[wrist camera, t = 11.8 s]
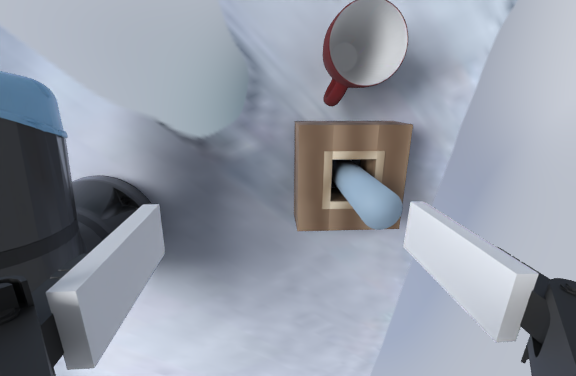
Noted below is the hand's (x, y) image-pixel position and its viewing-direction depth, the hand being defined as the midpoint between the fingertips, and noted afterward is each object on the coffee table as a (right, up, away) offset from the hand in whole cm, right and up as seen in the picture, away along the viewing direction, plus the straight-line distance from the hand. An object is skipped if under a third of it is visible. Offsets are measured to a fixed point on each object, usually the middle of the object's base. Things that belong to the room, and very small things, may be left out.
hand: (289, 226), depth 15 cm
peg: (+8, +5, +27) cm, 28 cm away
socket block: (+8, +5, +27) cm, 28 cm away
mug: (+7, +18, +23) cm, 30 cm away
